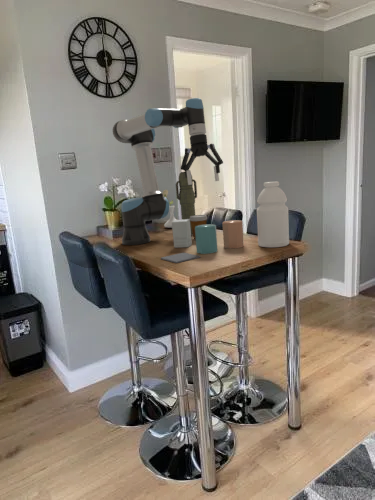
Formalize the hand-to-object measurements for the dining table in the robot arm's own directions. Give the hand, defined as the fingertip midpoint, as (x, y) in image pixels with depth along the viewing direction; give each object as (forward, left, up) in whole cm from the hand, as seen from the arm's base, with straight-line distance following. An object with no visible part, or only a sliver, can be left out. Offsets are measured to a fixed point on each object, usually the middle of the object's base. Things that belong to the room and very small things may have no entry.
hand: (203, 182), depth 177 cm
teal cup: (+10, -4, -30) cm, 31 cm away
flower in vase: (-73, 0, -30) cm, 79 cm away
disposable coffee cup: (-23, +3, -30) cm, 38 cm away
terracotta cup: (+7, +10, -30) cm, 32 cm away
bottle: (+15, +26, -30) cm, 42 cm away
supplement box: (-9, -10, -30) cm, 33 cm away
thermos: (-42, +3, -30) cm, 52 cm away
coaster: (+16, -18, -30) cm, 38 cm away
